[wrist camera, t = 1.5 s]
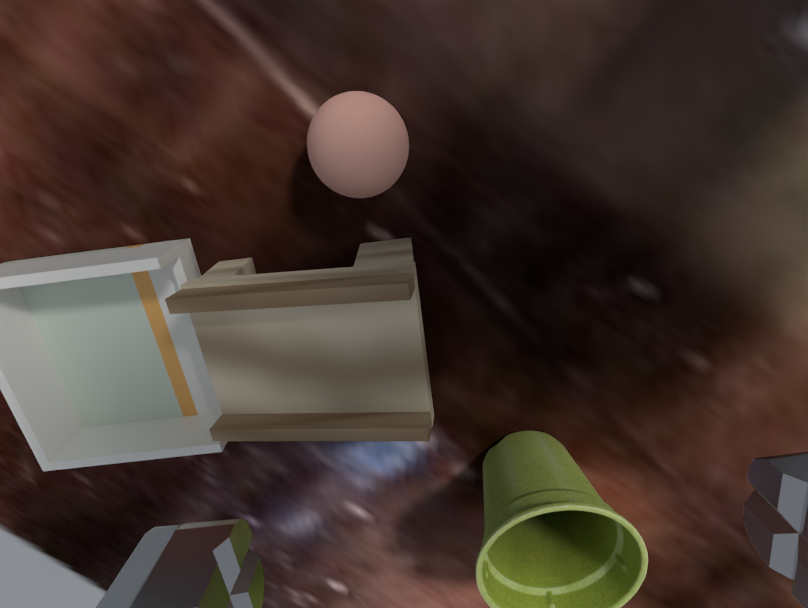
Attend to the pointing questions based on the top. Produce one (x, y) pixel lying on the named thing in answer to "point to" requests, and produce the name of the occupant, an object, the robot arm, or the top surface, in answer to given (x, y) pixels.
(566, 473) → the plant pot
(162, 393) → the tray
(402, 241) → the launch ramp
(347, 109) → the rubber ball
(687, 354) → the top surface
